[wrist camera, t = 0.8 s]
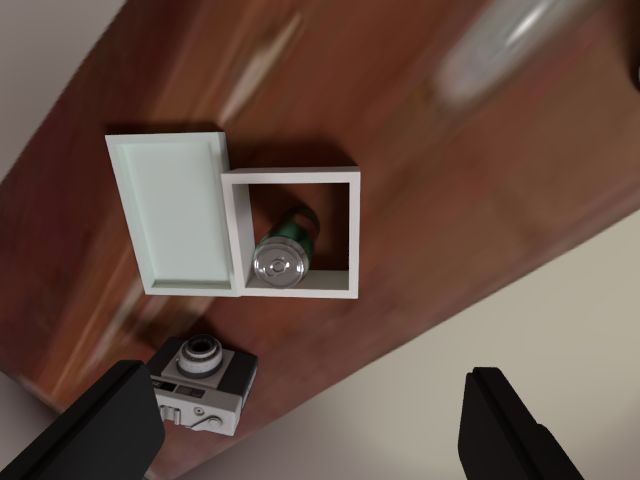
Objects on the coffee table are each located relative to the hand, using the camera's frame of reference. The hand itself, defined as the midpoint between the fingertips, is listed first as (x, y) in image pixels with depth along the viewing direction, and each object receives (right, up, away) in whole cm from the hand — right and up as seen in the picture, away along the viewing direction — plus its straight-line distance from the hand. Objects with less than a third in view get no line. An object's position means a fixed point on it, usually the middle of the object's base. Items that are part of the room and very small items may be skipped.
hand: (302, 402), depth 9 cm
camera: (-15, -11, +36) cm, 41 cm away
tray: (-16, +8, +29) cm, 34 cm away
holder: (-2, +6, +28) cm, 29 cm away
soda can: (-2, +7, +28) cm, 29 cm away
